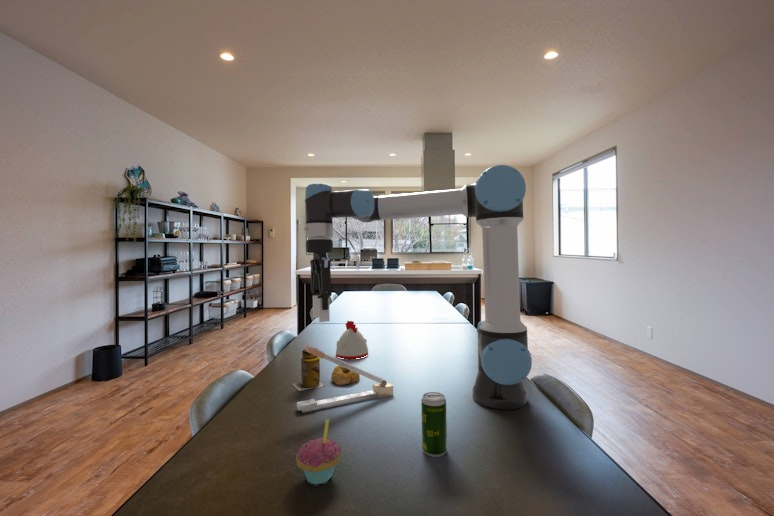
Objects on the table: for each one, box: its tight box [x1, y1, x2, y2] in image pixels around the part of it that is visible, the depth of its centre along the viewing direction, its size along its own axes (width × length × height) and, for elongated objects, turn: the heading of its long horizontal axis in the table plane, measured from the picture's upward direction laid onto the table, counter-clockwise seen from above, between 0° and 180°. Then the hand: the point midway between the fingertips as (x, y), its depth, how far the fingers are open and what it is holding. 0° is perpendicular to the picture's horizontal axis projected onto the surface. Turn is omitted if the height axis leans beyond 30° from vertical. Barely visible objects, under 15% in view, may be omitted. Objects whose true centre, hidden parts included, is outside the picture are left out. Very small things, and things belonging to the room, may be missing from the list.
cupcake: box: [295, 415, 342, 484], centre depth 68 cm, size 9×8×12 cm
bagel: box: [330, 365, 361, 386], centre depth 122 cm, size 10×11×5 cm
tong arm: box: [304, 344, 388, 386], centre depth 104 cm, size 3×27×2 cm, turn 115°
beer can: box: [420, 391, 448, 458], centre depth 77 cm, size 5×5×12 cm
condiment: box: [292, 347, 325, 392], centre depth 118 cm, size 7×8×12 cm
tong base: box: [296, 381, 394, 413], centre depth 104 cm, size 4×28×3 cm, turn 115°
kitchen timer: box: [335, 320, 369, 359], centre depth 153 cm, size 14×14×15 cm
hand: (321, 319), depth 101 cm, fingers open, 7 cm apart
